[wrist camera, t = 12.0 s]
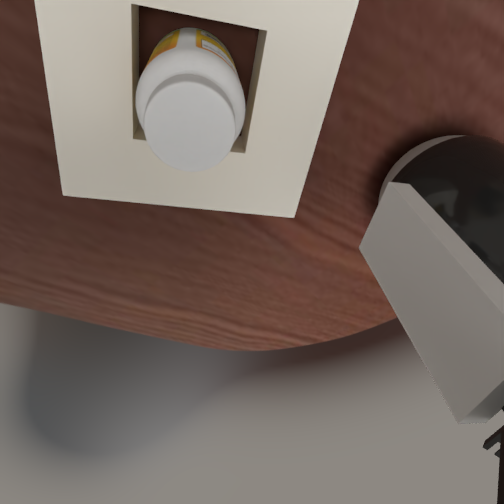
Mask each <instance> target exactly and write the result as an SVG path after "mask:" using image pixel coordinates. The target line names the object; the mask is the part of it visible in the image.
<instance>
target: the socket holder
mask: <svg viewBox="0 0 504 504" xmlns="http://www.w3.org/2000/svg"><path fill="white" fill-rule="evenodd" d="M34 1H35V8H36V15H37V21H38V28H39V35H40V42H41V49H42V56H43V63H44V70H45V76H46V83H47V90H48V97H49V104H50V111H51V118H52V124H53V131H54V138H55V145H56V152H57V159H58V166H59V172H60V179H61V186H62V193H63V196H74V197H84V198H94V199H104V200H115V201H125V202H135V203H145V204H156V205H166V206H176V207H187V208H197V209H207V210H217V211H228V212H238V213H248V214H258V215H269V216H279V217H289V218H294V216H295V213H296V210H297V206H298V203H299V200H300V196H301V193H302V190H303V186H304V183H305V180H306V176H307V173H308V170H309V166H310V163H311V160H312V156H313V153H314V150H315V146H316V143H317V139H318V136H319V133H320V129H321V126H322V123H323V119H324V116H325V113H326V109H327V106H328V103H329V99H330V96H331V93H332V89H333V86H334V83H335V79H336V76H337V73H338V69H339V66H340V63H341V59H342V56H343V53H344V49H345V46H346V42H347V39H348V36H349V32H350V29H351V26H352V22H353V19H354V16H355V12H356V9H357V6H358V2H359V0H34ZM139 5H141V6H146V7H151V8H156V9H161V10H166V11H171V12H176V13H181V14H186V15H191V16H196V17H201V18H206V19H211V20H216V21H221V22H226V23H231V24H236V25H241V26H246V27H251V28H256V29H259V34H258V39H257V45H256V51H255V57H254V63H253V69H252V75H251V81H250V87H249V93H248V99H247V105H246V110H245V119H244V123H243V128H242V134H241V136H238V137H237V139H236V140H235V142H234V143H233V146H232V148H231V150H230V152H229V153H228V155H227V156H226V157H225V158H224V159H223V160H222V161H221V162H220V163H218V164H217V165H215V166H214V167H212V168H209V169H207V170H203V171H197V172H188V171H182V170H178V169H175V168H173V167H171V166H169V165H167V164H165V163H164V162H163V161H161V160H160V159H159V158H158V157H157V156H156V155H155V154H154V152H153V151H152V150H151V148H150V146H149V145H148V143H147V140H146V137H145V134H144V130H143V128H142V126H141V124H140V122H139V119H138V116H137V111H136V102H135V100H136V90H137V86H138V82H139Z"/></svg>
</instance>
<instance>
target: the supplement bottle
mask: <svg viewBox="0 0 504 504" xmlns="http://www.w3.org/2000/svg"><path fill="white" fill-rule="evenodd" d="M135 102H136V111H137V116H138V119H139V122H140V124H141V126H142V128H143V130H144V134H145V137H146V140H147V143H148V145H149V146H150V148H151V150H152V151H153V152H154V154H155V155H156V156H157V157H158V158H159V159H160V160H161V161H163V162H164V163H165V164H167V165H169V166H171V167H173V168H175V169H178V170H182V171H188V172H197V171H203V170H207V169H209V168H212V167H214V166H215V165H217V164H218V163H220V162H221V161H222V160H223V159H224V158H225V157H226V156H227V155H228V153H229V152H230V150H231V148H232V146H233V143H234V142H235V140H236V139H237V137H238V136H239V134H240V132H241V129H242V127H243V123H244V119H245V98H244V93H243V89H242V86H241V83H240V80H239V77H238V74H237V71H236V68H235V65H234V62H233V59H232V57H231V55H230V53H229V51H228V50H227V48H226V47H225V45H224V44H223V43H222V42H221V41H220V40H219V39H218V38H217V37H215V36H214V35H212V34H211V33H209V32H207V31H205V30H202V29H198V28H181V29H177V30H175V31H172V32H170V33H169V34H167V35H166V36H165V37H163V38H162V39H161V40H160V41H159V43H158V44H157V45H156V47H155V48H154V50H153V52H152V54H151V56H150V59H149V61H148V63H147V65H146V67H145V69H144V71H143V73H142V74H141V77H140V80H139V82H138V86H137V90H136V100H135Z"/></svg>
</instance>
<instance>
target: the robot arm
mask: <svg viewBox="0 0 504 504" xmlns="http://www.w3.org/2000/svg"><path fill="white" fill-rule="evenodd" d="M359 249H360V251H361V253H362V255H363V256H364V258H365V260H366V262H367V263H368V265H369V267H370V269H371V271H372V272H373V274H374V276H375V278H376V279H377V281H378V283H379V285H380V286H381V288H382V290H383V292H384V294H385V295H386V297H387V299H388V301H389V302H390V304H391V306H392V308H393V310H394V311H395V313H396V315H397V317H398V318H399V320H400V322H401V324H402V325H403V327H404V329H405V331H406V333H407V334H408V336H409V338H410V340H411V341H412V343H413V345H414V347H415V348H416V350H417V352H418V354H419V356H420V357H421V359H422V361H423V363H424V364H425V366H426V368H427V370H428V372H429V373H430V375H431V377H432V378H433V380H434V382H435V384H436V386H437V387H438V389H439V391H440V393H441V395H442V396H443V398H444V400H445V402H446V403H447V405H448V407H449V409H450V411H451V412H452V414H453V416H454V418H455V419H456V421H457V423H458V424H468V423H469V424H470V423H486V422H487V421H488V420H490V419H491V418H492V417H493V416H494V415H495V414H496V413H498V412H499V411H500V410H501V409H502V410H503V411H504V280H502V279H501V278H499V277H498V276H497V275H495V274H494V273H493V272H492V271H491V270H490V269H489V268H488V267H487V266H486V265H485V264H484V263H483V262H482V261H481V259H480V258H479V257H478V256H477V255H476V254H475V253H474V252H473V251H472V250H471V249H470V248H469V247H468V246H467V245H466V244H465V242H464V241H463V240H462V239H461V238H460V237H459V236H458V235H457V234H456V233H455V232H454V231H453V230H452V229H451V228H450V226H449V225H448V224H447V223H446V222H445V221H444V220H443V219H442V218H441V217H440V216H439V215H438V214H437V213H436V212H435V211H434V209H433V208H432V207H431V206H430V205H429V204H428V203H427V202H426V201H425V200H424V199H423V198H422V197H421V196H420V195H419V194H418V192H417V191H416V190H415V189H414V188H413V187H412V186H411V185H410V184H405V183H396V182H388V185H387V187H386V189H385V191H384V193H383V196H382V198H381V200H380V202H379V204H378V207H377V209H376V211H375V213H374V215H373V218H372V220H371V222H370V224H369V226H368V229H367V231H366V233H365V235H364V237H363V240H362V242H361V244H360V246H359ZM497 442H500V443H501V445H500V449H499V450H498V451H497V452H496V453H495V455H496V456H498V457H499V458H500V463H499V481H498V498H497V504H504V425H503V426H502V427H501V428H500V429H499V430H497V431H496V432H495V433H494V434H493V435H491V436H490V437H489V438H488V439H487V440H485V443H484V445H483V448H485V449H487V450H488V449H489V448H491V447H492V446H493V445H494V444H496V443H497Z"/></svg>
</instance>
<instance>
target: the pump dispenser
mask: <svg viewBox="0 0 504 504" xmlns="http://www.w3.org/2000/svg"><path fill="white" fill-rule="evenodd" d="M388 182H396V183H405V184H410V185H411V186H412V187H413V188H414V189H415V190H416V191H417V192H418V194H419V195H420V196H421V197H422V198H423V199H424V200H425V201H426V202H427V203H428V204H429V205H430V206H431V207H432V208H433V209H434V211H435V212H436V213H437V214H438V215H439V216H440V217H441V218H442V219H443V220H444V221H445V222H446V223H447V224H448V225H449V226H450V228H451V229H452V230H453V231H454V232H455V233H456V234H457V235H458V236H459V237H460V238H461V239H462V240H463V241H464V242H465V244H466V245H467V246H468V247H469V248H470V249H471V250H472V251H473V252H474V253H475V254H476V255H477V256H478V257H479V258H480V259H481V261H482V262H483V263H484V264H485V265H486V266H487V267H488V268H489V269H490V270H491V271H492V272H493V273H494V274H495V275H497V276H498V277H499V278H501V279H502V280H504V143H502V142H500V141H498V140H496V139H494V138H491V137H487V136H480V135H468V136H465V135H452V136H444V137H439V138H435V139H432V140H429V141H426V142H424V143H422V144H420V145H418V146H416V147H414V148H413V149H411V150H410V151H409V152H407V153H406V154H405V155H403V156H402V157H401V158H400V159H399V160H398V161H397V162H396V163H395V164H394V166H393V167H392V168H391V170H390V171H389V173H388V174H387V176H386V178H385V180H384V182H383V184H382V187H381V190H380V195H379V202H380V200H381V198H382V196H383V193H384V191H385V189H386V187H387V185H388ZM379 202H378V204H379Z"/></svg>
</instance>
